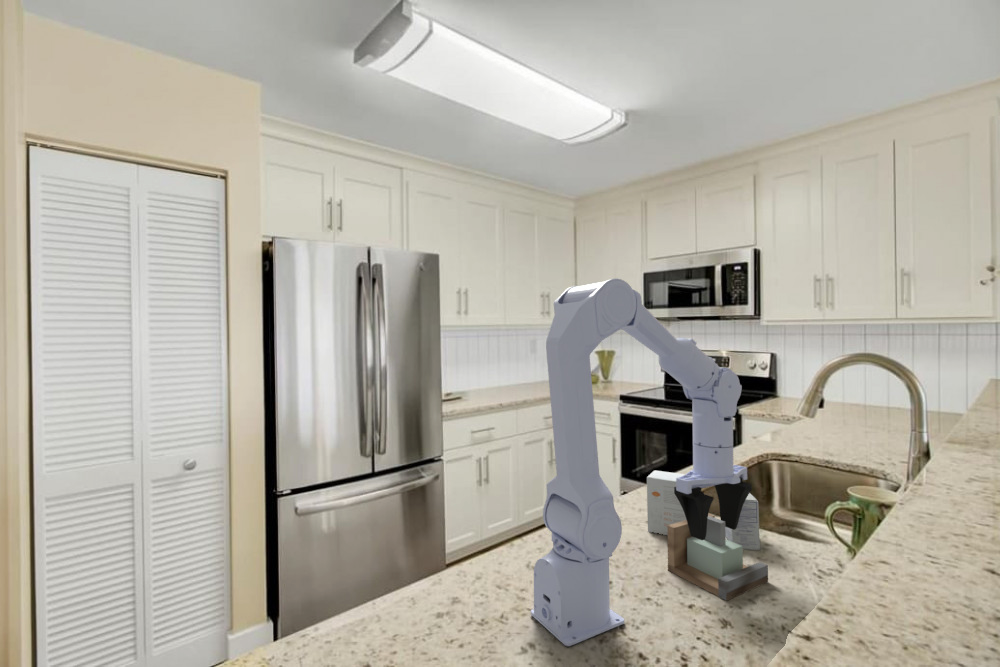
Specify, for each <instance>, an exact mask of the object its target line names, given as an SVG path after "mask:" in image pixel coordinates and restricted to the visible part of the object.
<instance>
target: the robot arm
mask: <svg viewBox="0 0 1000 667" xmlns="http://www.w3.org/2000/svg"><path fill="white" fill-rule="evenodd" d="M642 301H643V300H642V296H641V293H639V292H638V291H637V290H634V289H633V288H632V286H631V285H630V284H629V283H628V282H627V281H625V280H623V279H621V278H610V279H607V280H605V281H600V282H594V283H590V284H585V285H572V286H571V287H570V286H569V287H568V288H566V289H565V290H564V291H563V292H562V293H561V294H560V295H559V297H557V298H556V299H555V300H554V301H553V312H554V316H553V318H552V322H551V325H550V328H549V331H548V334H547V337H546V342H545V349H546V362H547V372H548V373H547V375H548V384H549V398H550V408H551V410H550V411H551V420H552V421H551V423H552V432H553V443H554V444H553V446H554V455H555V457H554V459H555V469H556V476H554V477H553V478H552V479H551V480H549V481H548V482H547V484H546V499H545V502H544V506H543V509H542V518H543V523H544V525H545V527H546V528H547V530H549V532H551V542H552V548H551V550H550V551H549V552H548V553H547V554H546V555H544V556H543V557H540V558H539V559H537V561H536V562H535V564H534V568H533V609H531V610H530V615H531V616H532V617H533V618H534V619H535V620H536V621H537V622H539V623H540V624H541V625H542V626H543V627H544V628H545V629H546V630H547V631H549V632H550V633H551V634H552V636H554V637H555V638H556V639H557V640H558V641H559V642H561V643H562V644H563V645H564V646H566V647H571V646H573V645H576V644H578V643H581V642H584V641H585V640H588V639H590V638H593V637H595V636H597V635H599V634H602V633H605V632H606V631H611V629H615V628H617V627H619V626H621V625H624V624H625V621H626V620H625V618H624V617H623V616H621V615H620V614H618V613H616V612H615V610H612V609H611V607H610V558H611V557H612V556H613V553H614V552H615V550H616V549H617V547H618V546H619V544H620V541H621V538H622V534H623V533H622V532H623V531H622V530H623V527H622V522H621V518H620V516H619V514H618V513H617V511H616V509H615V508H616V507H615V505H614V504H615V503H614V496H613V493H612V492H611V491H610V489H609V487H608V486H607V485H606V483H605V482H604V480H603V478H602V477H601V474H600V466H599V465H600V464H599V453H598V452H599V451H598V442H597V440H598V439H597V428H596V416H595V406H594V404H595V403H594V392H593V382H592V380H593V379H592V369H591V354H592V353H593V352H594V351H595V349H596V348H597V347H598V346H599V345H600V343H601V342H602V341H604V340H605V339H607V338H609V337H610V336H611V335H614V334H615V333H617V332H618V331H620V330H622V331H624V333H626V334H628V335H629V336H631V337H632V338H633V339H635V340H636V341H638V342H639V343H641V344H642V345H643V346H644V347H646V348H648V349H649V350H650V351H652V353H655V355H658V364H659V367H660V368H661V369H662V370H663V371H665V372H666V373H667V374H669V376H671V377H672V378H673V379H674V380H675V381H677V382H678V383H679V384H680V385H681V386H682V390H683V393H684V395H685V397H686V399H689V400H691V401H692V402H691V404H692V405H691V406H692V409H691V410H692V412H691V413H692V414H691V415H692V469H691V470H689V471H688V472H686V473H684V474H685V475H683V476H681V477H678V478H676V487H674V494H675V495H676V497H677V499H678V500H679V502H680V504H681V506H682V508H683V511H684V513H685V516H686V520H687V523H688V527H689V531H690V534H691V536H692V537H695V538H697V539H700V540H705V537H706V532H707V518H708V514H710V509H711V506H712V503H713V501H714V500H715V498H714V496H711V495H708V494H705V492H704V491H703V490H702V489H705V488H709V487H713V486H714V488H715V491H716V495H717V499H718V505H719V516H720V520H722V521H725V527H728V528H730V529H733V530H735V529H736V528H737V525H738V521H739V517H740V513H741V510H742V507H743V504H744V502H745V500H746V498H747V496H748V494H749V493H750V494H751V492H752V488H753V486H752V483H750V482H746V480H747V481H748V467H747V466H743V465H739V464H734V417H735V416H736V413H737V411H738V410H737V409H738V406H737V404H738V401H739V399H740V397H741V393H742V389H743V388H742V387H743V386H742V384H741V383H740V379H739V376H738V375H737V374H736V373H735V372H734V371H733V370H732V369H731V368H728V367H722V366H721V367H720V366H719V365H718V364H717V363H716V362H715V359H714V358H712V357H711V356H708V355H707V354H706V353H704V352H703V351H702V350H701V349H700V348H699V347H698V346H697V341H695V339H693V338H685V337H677V338H676V337H675V336H674V335H673V334H672V333H671V332H670V331H669V330H668V329H667V328H666V327H665V326H664V325H663V324H662V323H661V321H659V320H658V319H657V318H656V317H655V316H654V315H653V314H652V313H651V312H650V310H649V309H647V308H646V306H645V305H643V304H642Z"/></svg>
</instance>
